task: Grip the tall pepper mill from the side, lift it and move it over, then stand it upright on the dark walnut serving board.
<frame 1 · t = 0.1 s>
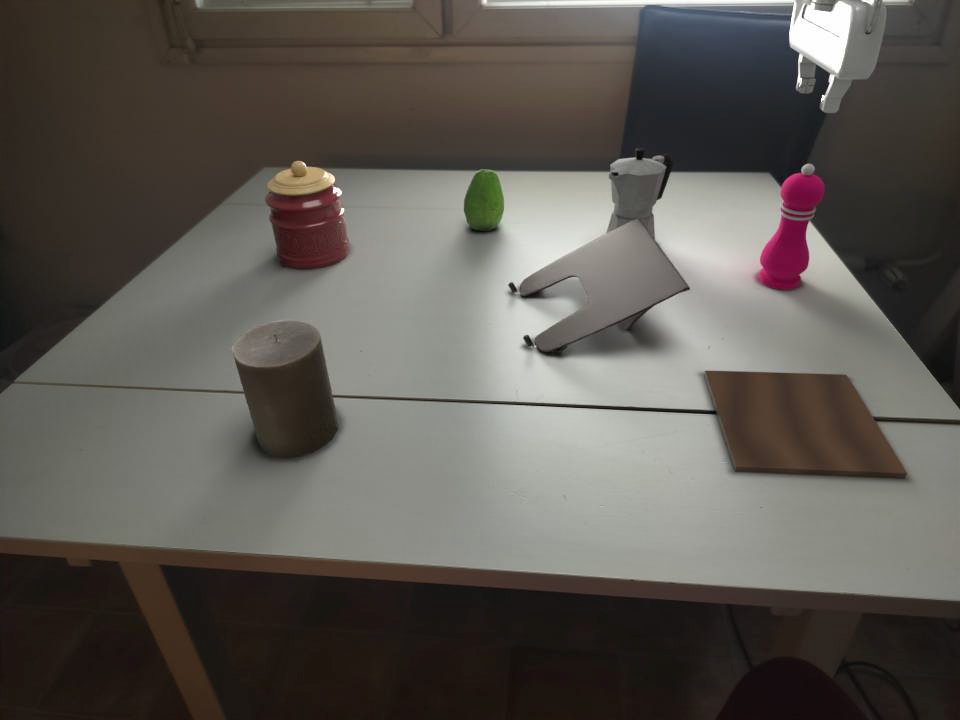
hand: (815, 101, 85), 31 cm above the table, tool pointing down, fingers open, 8 cm apart
walnut board: (792, 426, 81), on the table
pepper mill: (777, 285, 110), on the table
coffeepot: (633, 245, 123), on the table
avocado: (484, 230, 130), on the table
pillar candle: (299, 435, 82), on the table
laptop tray: (584, 318, 102), on the table
kitchen canister: (315, 257, 122), on the table
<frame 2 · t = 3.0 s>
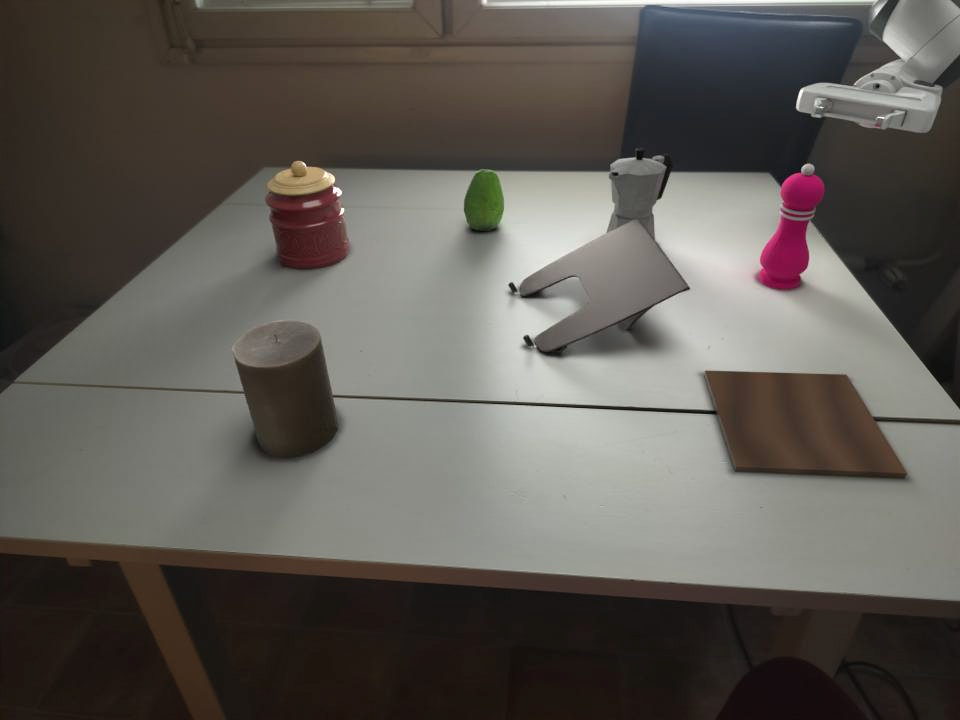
hand: (847, 117, 102), 24 cm above the table, tool horizontal, fingers open, 8 cm apart
nothing on the table moved.
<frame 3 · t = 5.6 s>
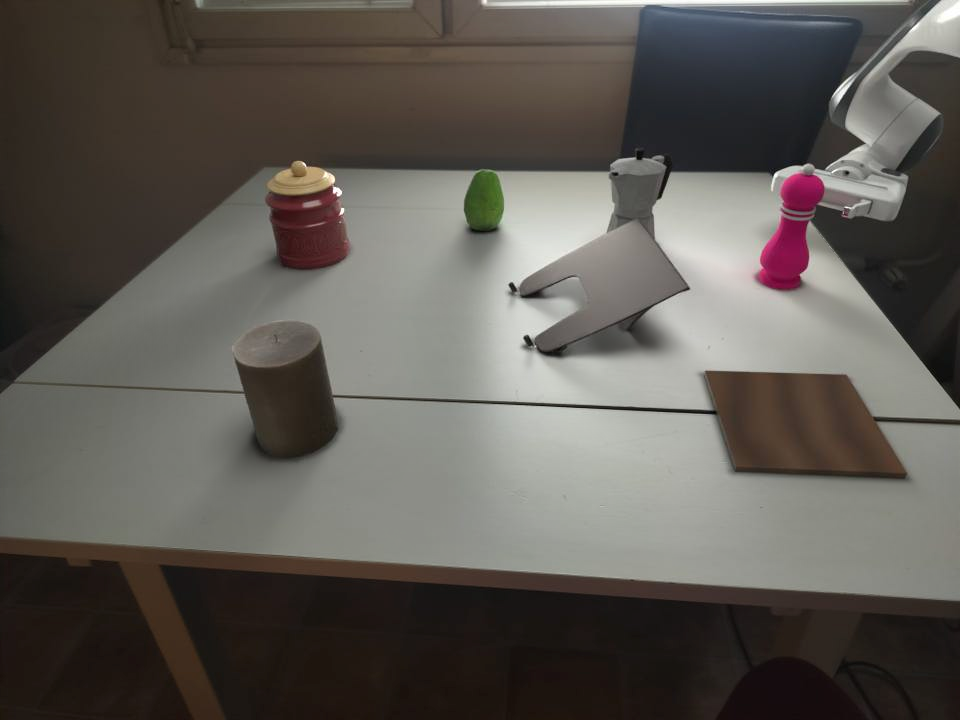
hand: (817, 205, 108), 11 cm above the table, tool horizontal, fingers open, 8 cm apart
nothing on the table moved.
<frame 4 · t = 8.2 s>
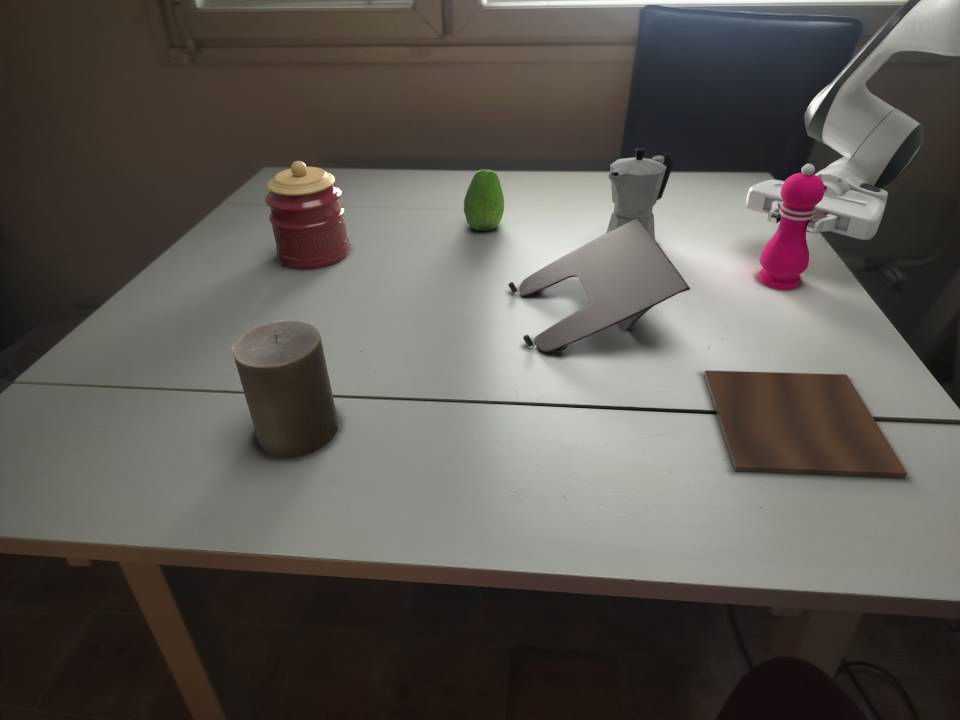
hand: (792, 223, 103), 11 cm above the table, tool horizontal, fingers closed on pepper mill, 5 cm apart
pepper mill: (777, 285, 110), on the table, touching gripper
everything else where it was.
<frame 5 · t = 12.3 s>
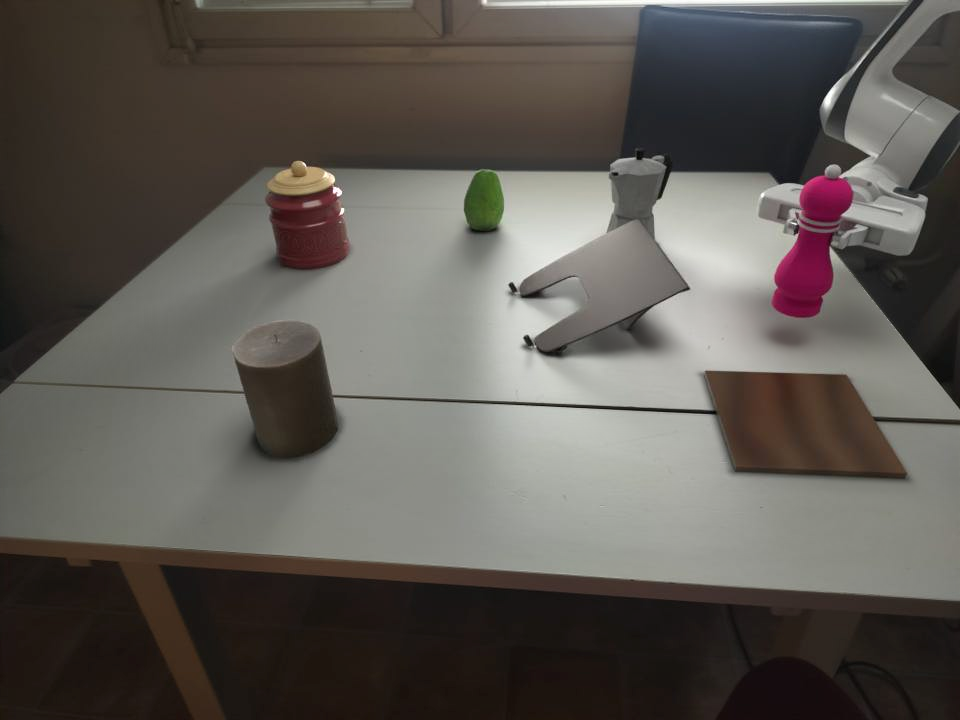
hand: (813, 235, 86), 17 cm above the table, tool horizontal, fingers closed on pepper mill, 5 cm apart
pepper mill: (794, 308, 93), point 6 cm above the table, touching gripper
everything else where it was.
when the fingers open (12 cm above the table, at t = 16.8 s): pepper mill stays where it is, resting on walnut board.
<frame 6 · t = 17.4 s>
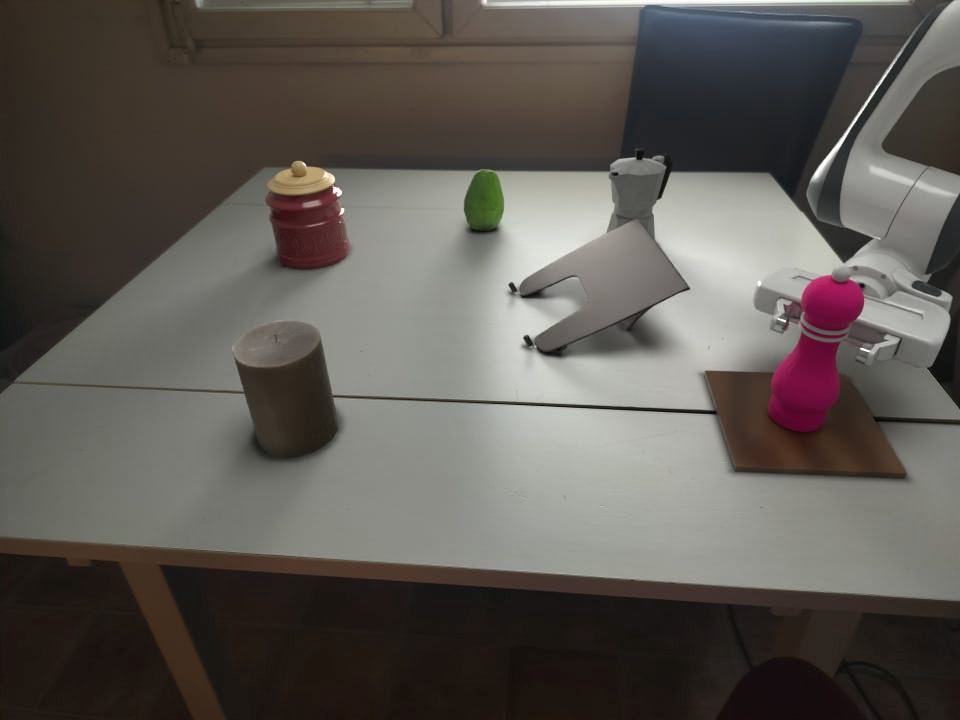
hand: (818, 341, 73), 13 cm above the table, tool horizontal, fingers open, 8 cm apart
pepper mill: (794, 416, 80), point 1 cm above the table, touching walnut board
everything else where it was.
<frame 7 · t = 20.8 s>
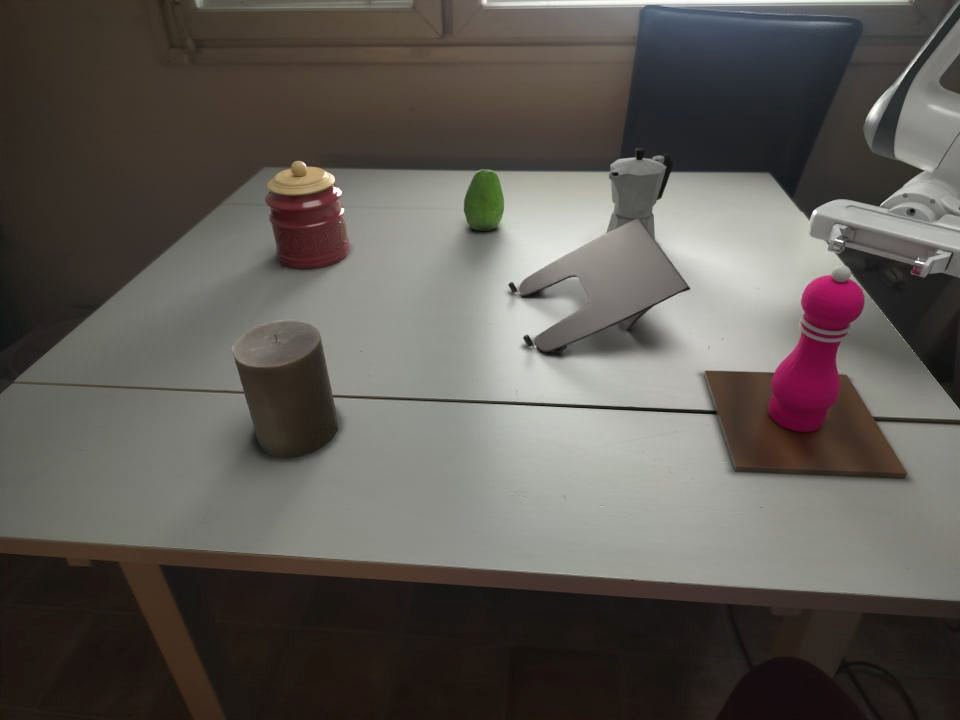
hand: (875, 258, 79), 17 cm above the table, tool horizontal, fingers open, 8 cm apart
nothing on the table moved.
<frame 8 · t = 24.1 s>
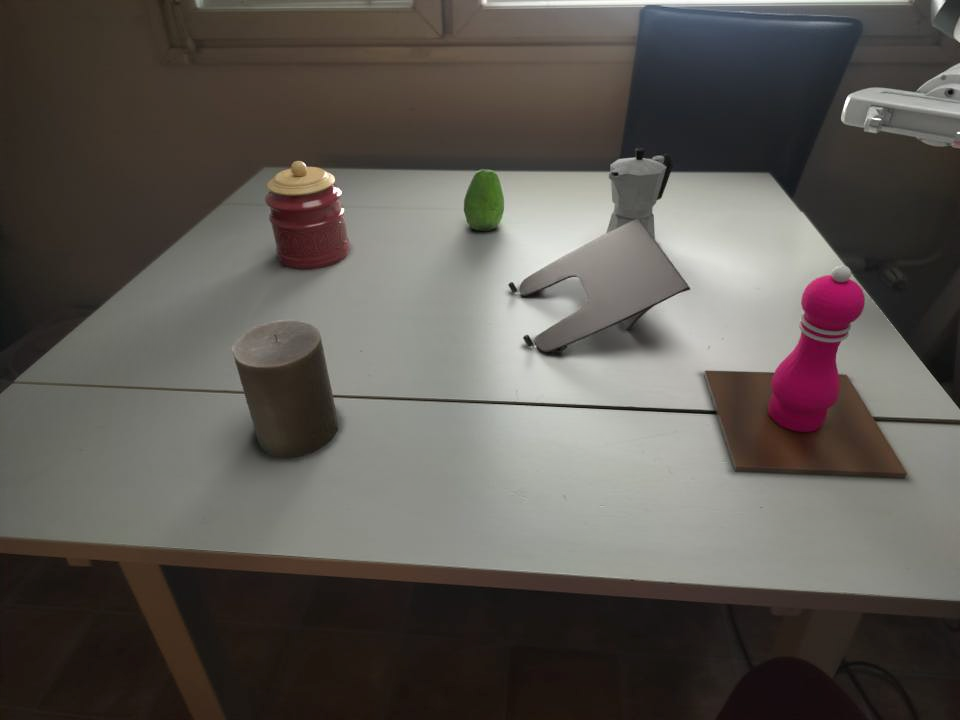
hand: (914, 133, 77), 30 cm above the table, tool horizontal, fingers open, 8 cm apart
nothing on the table moved.
at the end: pepper mill inside the target area on the walnut board (0.2 cm from its centre), point 1.3 cm above the walnut board's base; pepper mill tilted 0°; the gripper is holding nothing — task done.
